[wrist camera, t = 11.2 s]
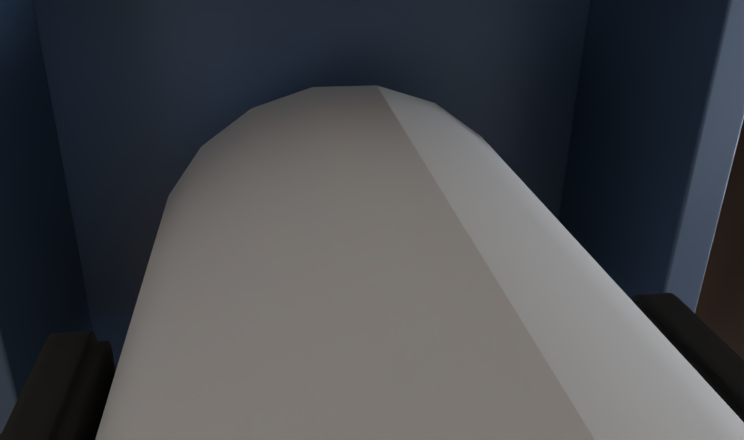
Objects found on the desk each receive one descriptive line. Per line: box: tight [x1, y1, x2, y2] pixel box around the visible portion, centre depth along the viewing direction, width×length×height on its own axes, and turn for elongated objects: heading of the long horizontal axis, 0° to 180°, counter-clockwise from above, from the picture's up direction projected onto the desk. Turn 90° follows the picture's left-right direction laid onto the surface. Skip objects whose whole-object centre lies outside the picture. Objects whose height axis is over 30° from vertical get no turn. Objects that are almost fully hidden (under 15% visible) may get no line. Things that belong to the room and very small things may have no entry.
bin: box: [0, 0, 744, 434], centre depth 15 cm, size 14×14×6 cm
